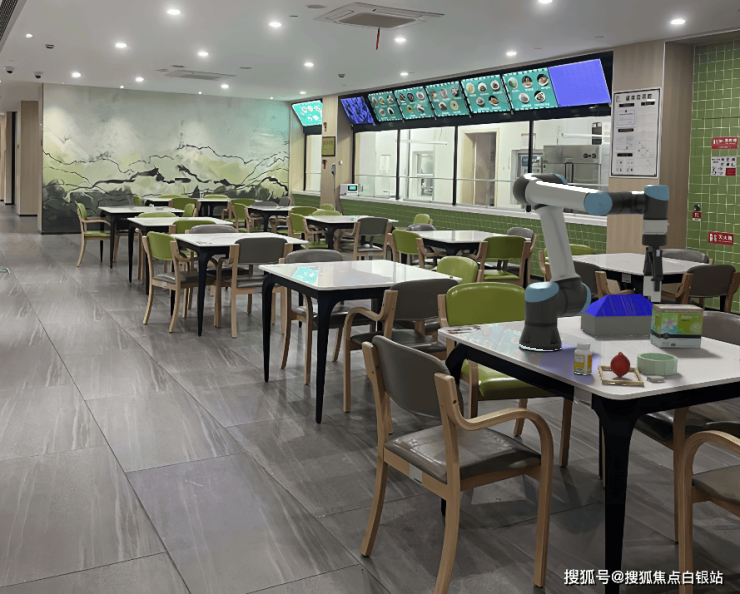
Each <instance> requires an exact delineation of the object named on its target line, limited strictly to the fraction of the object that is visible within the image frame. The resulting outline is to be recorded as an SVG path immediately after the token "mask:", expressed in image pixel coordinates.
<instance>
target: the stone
mask: <svg viewBox="0 0 740 594" xmlns="http://www.w3.org/2000/svg"><path fill="white" fill-rule="evenodd" d="M648 380H649V381H648ZM665 380H666V378H665V377H664V376H662V375H647V376H646V381H648V382H650V381H651V382H650V383H659V382H658V381H665ZM665 382H666V381H665Z"/></svg>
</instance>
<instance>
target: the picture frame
mask: <svg viewBox="0 0 740 594" xmlns="http://www.w3.org/2000/svg"><path fill="white" fill-rule="evenodd" d="M602 369H611V367H610V365H597V371H598V370H599V371H598V374H600V375H599V378H600V377H601V379H600V381H601V380H602V382H601V384H602V383H615V384H626V385H625V386H630V385H640V386H639V387H644V386H645V382H644V380H643V377H642V376H641V374H640V373H641V372H639V371H638V369H637V366H630V371H629V372H635V373H634V375H635V374H636V375H635V377H636V376H637V377H636V379H637V378H638V379H637V380H622V379H621V380H620V379H605V375H604V372H603V370H602Z"/></svg>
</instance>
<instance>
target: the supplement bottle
mask: <svg viewBox="0 0 740 594" xmlns="http://www.w3.org/2000/svg"><path fill="white" fill-rule="evenodd" d="M576 347H577V348H576V349H575V350H574V352H573V353H574V354H573V355H574V356H573V357H574V358H573V360H574V361H573V373H574V372H576V373H580V374H590V375H592V374H591V373H593V372H592V371H593V350H591V343H590V341H589V342H588V341H579V342H577V343H576Z"/></svg>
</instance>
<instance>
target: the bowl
mask: <svg viewBox="0 0 740 594" xmlns="http://www.w3.org/2000/svg"><path fill="white" fill-rule="evenodd" d="M678 361H679V360H678V357H677V356H675V355H673V354H670V353H664V352H663V353H662V352H641V353H638V354H637V355H636V367H637V369H638V371H640V372H639V373H642V372H643V374H646V373H648V374H647V375H652V374H656V375H655V376H671V375H673V376H674V375H676V374H677V373H678Z"/></svg>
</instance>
